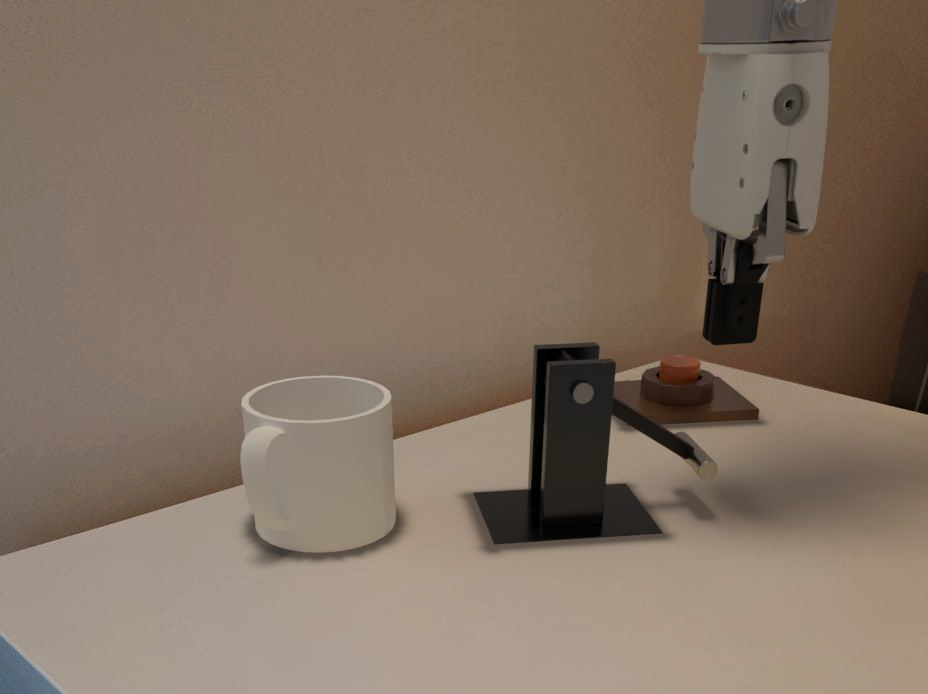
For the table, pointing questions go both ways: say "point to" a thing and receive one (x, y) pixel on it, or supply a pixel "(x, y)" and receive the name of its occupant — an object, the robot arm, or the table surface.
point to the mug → (319, 462)
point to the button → (679, 369)
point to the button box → (685, 399)
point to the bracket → (567, 458)
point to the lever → (661, 435)
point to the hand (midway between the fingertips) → (728, 340)
